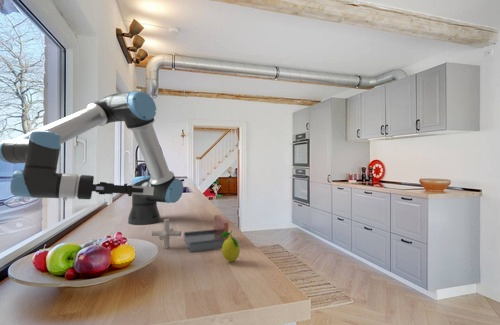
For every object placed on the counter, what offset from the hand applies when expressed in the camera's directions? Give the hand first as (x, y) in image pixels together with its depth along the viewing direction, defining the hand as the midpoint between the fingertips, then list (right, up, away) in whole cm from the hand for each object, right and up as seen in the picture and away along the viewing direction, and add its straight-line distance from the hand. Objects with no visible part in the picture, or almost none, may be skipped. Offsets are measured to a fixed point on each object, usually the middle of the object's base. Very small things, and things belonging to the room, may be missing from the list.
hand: (149, 190), depth 92 cm
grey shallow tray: (+18, -21, +5) cm, 28 cm away
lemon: (+29, -21, -12) cm, 38 cm away
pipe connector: (+5, -21, +1) cm, 21 cm away
